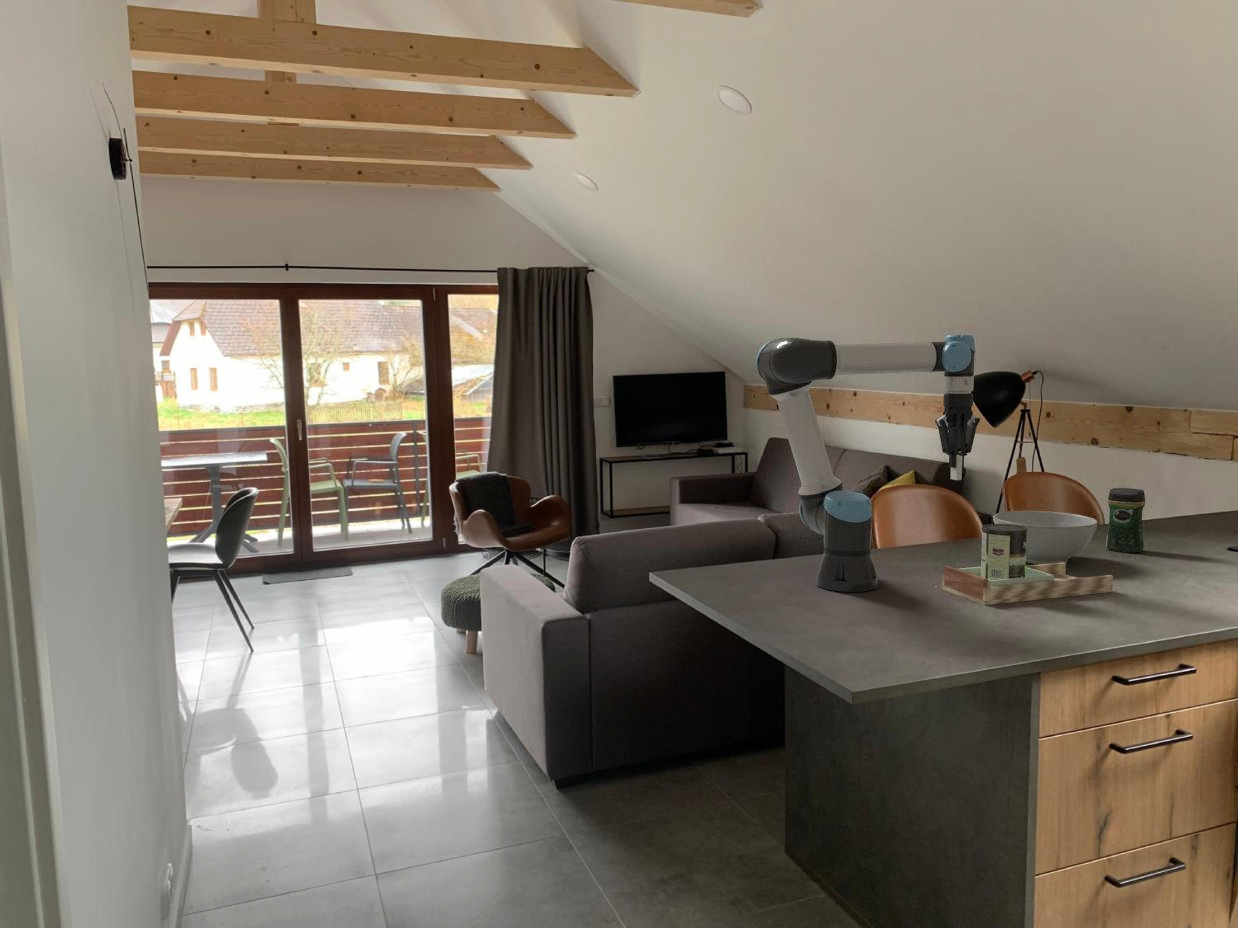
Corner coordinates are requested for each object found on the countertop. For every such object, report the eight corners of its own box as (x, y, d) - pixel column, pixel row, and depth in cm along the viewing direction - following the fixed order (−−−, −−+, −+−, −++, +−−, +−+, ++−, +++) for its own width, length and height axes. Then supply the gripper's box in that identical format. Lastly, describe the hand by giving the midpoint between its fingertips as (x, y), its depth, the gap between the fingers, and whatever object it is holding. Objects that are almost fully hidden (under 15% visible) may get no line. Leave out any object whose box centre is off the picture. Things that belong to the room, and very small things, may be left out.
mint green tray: (990, 597, 217) (991, 581, 217) (953, 584, 230) (954, 568, 230) (1053, 591, 223) (1054, 575, 222) (1013, 578, 235) (1014, 563, 235)
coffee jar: (1146, 550, 274) (1149, 488, 272) (1138, 554, 268) (1141, 491, 266) (1110, 546, 280) (1113, 485, 278) (1102, 550, 275) (1105, 488, 273)
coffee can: (1020, 579, 230) (1022, 523, 229) (1029, 589, 220) (1032, 531, 219) (976, 578, 232) (978, 523, 231) (983, 588, 222) (985, 530, 221)
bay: (984, 605, 216) (985, 579, 215) (941, 589, 231) (942, 565, 230) (1112, 591, 226) (1113, 567, 226) (1063, 577, 242) (1064, 554, 241)
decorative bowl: (1045, 548, 279) (1046, 508, 278) (1118, 566, 254) (1120, 522, 252) (971, 554, 270) (972, 514, 269) (1039, 574, 245) (1041, 529, 244)
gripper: (946, 393, 244) (944, 482, 246) (988, 392, 248) (985, 479, 250) (929, 392, 251) (926, 479, 253) (969, 391, 255) (967, 476, 257)
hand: (955, 479), depth 252 cm, fingers closed
